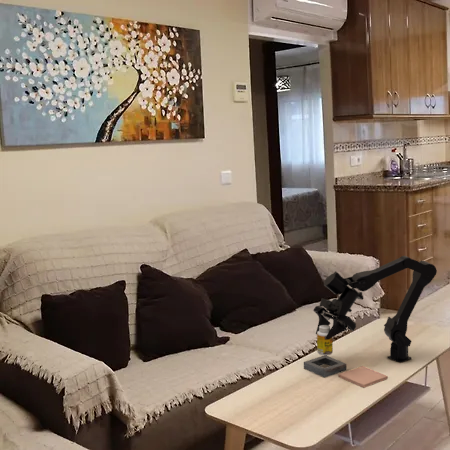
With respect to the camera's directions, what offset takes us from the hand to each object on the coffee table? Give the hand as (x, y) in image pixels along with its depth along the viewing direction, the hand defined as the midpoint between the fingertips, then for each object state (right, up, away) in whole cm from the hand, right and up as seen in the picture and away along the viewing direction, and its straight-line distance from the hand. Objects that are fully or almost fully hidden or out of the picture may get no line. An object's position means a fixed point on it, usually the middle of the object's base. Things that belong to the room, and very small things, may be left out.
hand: (321, 336), depth 215 cm
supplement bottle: (+1, -7, +2) cm, 7 cm away
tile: (+13, -13, -6) cm, 20 cm away
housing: (+2, -12, +2) cm, 13 cm away
